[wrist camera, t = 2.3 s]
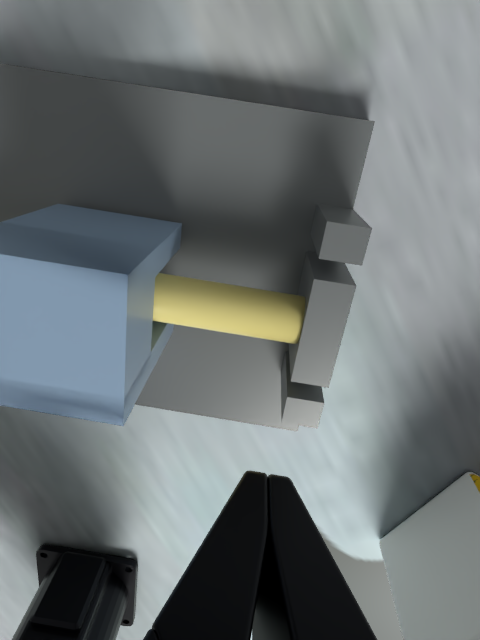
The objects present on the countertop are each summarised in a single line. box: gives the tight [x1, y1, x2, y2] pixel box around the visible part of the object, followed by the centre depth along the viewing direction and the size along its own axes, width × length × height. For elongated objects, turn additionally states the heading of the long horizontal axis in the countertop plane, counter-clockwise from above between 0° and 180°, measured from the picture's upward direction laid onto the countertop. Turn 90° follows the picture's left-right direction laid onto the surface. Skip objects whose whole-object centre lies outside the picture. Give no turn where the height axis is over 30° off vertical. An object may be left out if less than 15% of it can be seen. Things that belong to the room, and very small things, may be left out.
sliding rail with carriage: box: [0, 64, 375, 431], centre depth 16 cm, size 14×26×6 cm, turn 82°
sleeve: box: [0, 204, 182, 426], centre depth 15 cm, size 5×5×7 cm
